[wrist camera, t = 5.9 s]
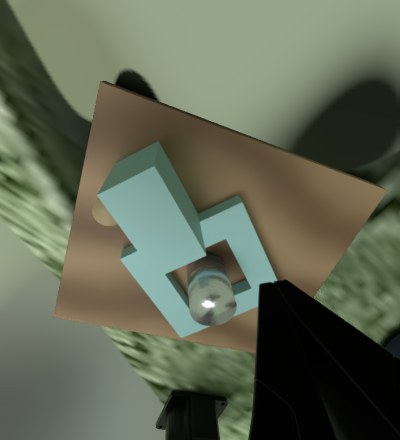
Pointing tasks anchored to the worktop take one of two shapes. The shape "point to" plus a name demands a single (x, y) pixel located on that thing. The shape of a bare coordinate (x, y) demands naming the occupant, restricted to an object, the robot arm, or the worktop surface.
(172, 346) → the worktop surface
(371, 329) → the worktop surface
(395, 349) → the canister
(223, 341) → the board
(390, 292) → the worktop surface
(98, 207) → the dowel
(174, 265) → the flange
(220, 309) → the post
